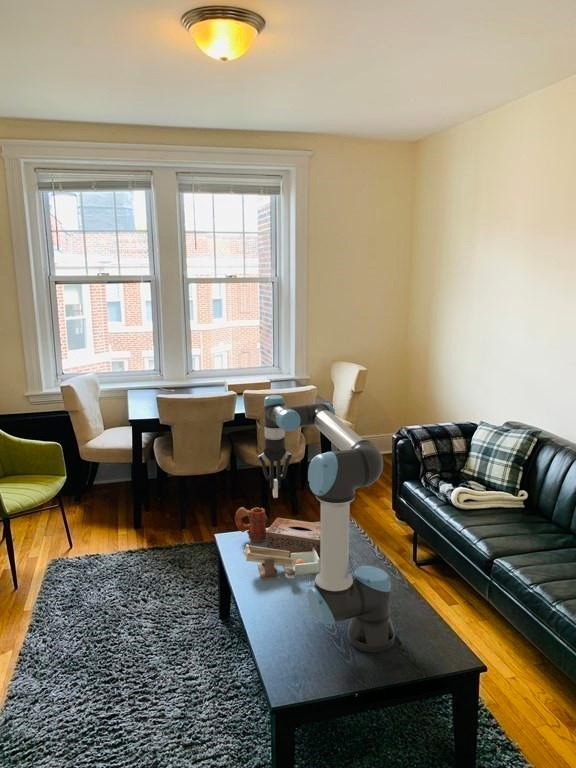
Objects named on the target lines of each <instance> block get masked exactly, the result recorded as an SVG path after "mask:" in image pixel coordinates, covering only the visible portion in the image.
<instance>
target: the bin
mask: <svg viewBox="0 0 576 768" xmlns="http://www.w3.org/2000/svg"><path fill="white" fill-rule="evenodd" d="M290 559H293V561H292V565H291V567H292V569H293V570H294V571H295V575H294V577H298V576H306V575H307V576H308V575H317V574H318V573H319V572H320V559H319V557H318V555H317V552H316V550H315V548H312V551H309V552H299V553H291V557H290ZM298 559H302V560H303V561H304V563H303V564H295V562H296V560H298Z"/></svg>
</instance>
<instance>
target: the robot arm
mask: <svg viewBox="0 0 576 768" xmlns="http://www.w3.org/2000/svg"><path fill="white" fill-rule="evenodd" d="M263 417H264V419H263V420H264V450H263V452H262V453H261V454H258V455H257V459H258V460H259V461H260V463H261V468H262V471H263V474H264V477H265V480H266V481H269V488H270V489H271V490H272V497H273V499H276V498H279V492H278V491H279V489H281V481H282V480H285V479H286V477H287V473H288V468H289V464H290V461H291V459H292V457H293V455H292V453H291V452H289V451H287V449H286V444H285V443H286V438H285V435H286V432H293V431H296V430H297V429H298V428H302V427H310V426H314V427H315V429H317V430H319V432H321V433H322V434H323V435H324V436H325V437H326V438H327V439H328V440H329V441H330V442H331V443H333V445H334V446H336V448H337V449H338V450H336V451H327V452H324V453H319V454H317V455H315V456H314V457H313V458H312V459H311V461H310V463H309V465H308V470H307V481H308V482H309V484H308V486H309V488H310V491H311V492H312V493H313V494H314V495H315V498H316V499H317V500H318V501H319V502H320V524H321V528H320V572H319V573H318V574H315V575H316V576H315V578H314V585H311V586H310V587H309V588H308V589H307V598H308V604H309V607H310V610H311V613H312V615H313V616H314V618H315V619H316V621H317V622H318V623H319V624H320V625H323V626H328V625H331V624H333V625H335V624H336V623H339V622H342V621H347V620H350V622H349V624H348V626H347V633H346V634H347V640H348V641H349V643H350V644H351V645H352V647H354V648H356V649H357V650H360V651H363V652H366V653H372V654H375V653H381V652H385V651H388V650H389V649H391V648H392V647H393V646H394V644H395V638H396V637H395V636H396V635H395V629H394V626H393V623H392V622H393V621H392V620H391V616H390V615H391V598H392V597H391V591H392V582H391V577H390V574H388V573H387V572H386V571H385V570H383V569H381V568H378V567H376V566H372V565H361V566H358V567H355V569H354V571H353V573H352V575H353V576H352V575H351V574H350V573H349V558H350V557H349V556H350V555H349V552H350V551H349V549H350V548H349V547H350V507H351V506H350V504H351V503H352V502H353V501H354V500H355V497H356V489H360V488H365V487H369V486H371V485H373V484H374V483H375V482H376V481H377V480H378V479H379V478H380V477H381V474H382V472H383V469H384V459H383V454H382V453H381V451H380V449H379V448H378V447H377V446H376V445H375V444H374V443H373V442H371V440H369V439H363V438H362V437H361V436H360V435H358V434H357V433H356V432H355V431H354V430H353V429H352V428H350V427H349V426H348V425H347V424H346V423H344V422H343V421H342V420H341V419H339V418H338V416H336V411H335V408H334V406H333V405H332V403H328V402H318V403H313V404H304V405H297V406H296V405H294V406H286V401H285V397H284V396H282V395H278V394H274V395H268V396H265V397H264V400H263ZM265 457H266V458H267V460H268V461H269V472H268V469H267V466H266V462H265V460H266V459H265ZM284 457H285V458H284ZM282 459H284V462H283V465H282V464H281V463H282V462H281V461H282ZM275 462H276V463H275ZM275 464H276V465H275ZM274 465H275V466H276V471H275V466H274ZM281 465H282V469H281ZM274 471H275V472H274ZM275 473H276V478H275Z"/></svg>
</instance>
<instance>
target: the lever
mask: <svg viewBox="0 0 576 768" xmlns="http://www.w3.org/2000/svg"><path fill="white" fill-rule="evenodd" d="M289 554H290V551H285V550H278V549H271V548H266V547H265V546H264V547H263V546H256V545H249V544H247V543H246V545H245V547H244V557H245V561H246V562H253V563H258V564H262V563H265V561H268V560H274V565H276V566H282V568H283V572H284V575H285V578H288V579H295V576H294V575H295V571H294V570H293V569H292V567H291V565H292V561H293V559H291V557H289Z"/></svg>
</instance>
